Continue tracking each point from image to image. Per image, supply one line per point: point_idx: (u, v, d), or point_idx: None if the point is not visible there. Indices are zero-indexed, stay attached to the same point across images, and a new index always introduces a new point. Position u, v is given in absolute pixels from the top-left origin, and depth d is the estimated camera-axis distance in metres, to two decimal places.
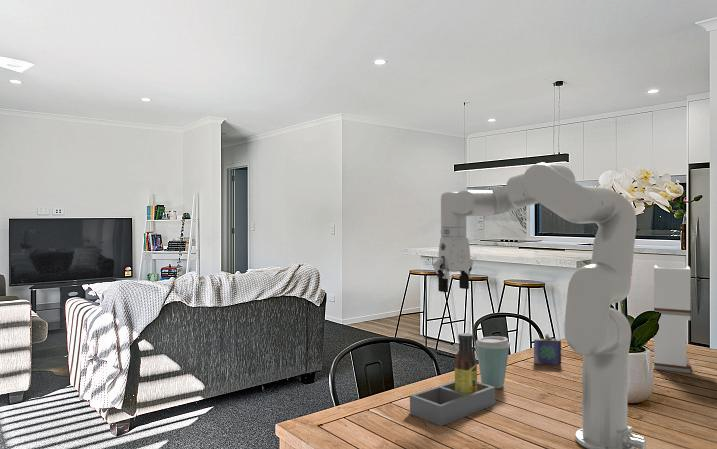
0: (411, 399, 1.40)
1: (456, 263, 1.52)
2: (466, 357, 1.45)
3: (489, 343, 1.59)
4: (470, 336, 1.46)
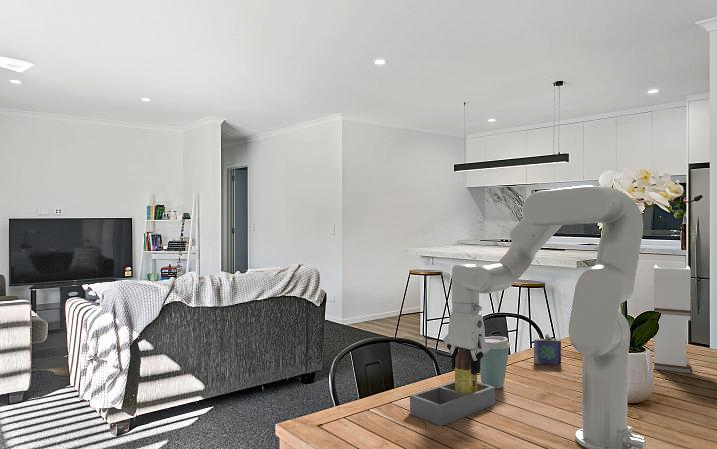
0: (411, 399, 1.40)
1: None
2: (466, 357, 1.45)
3: (489, 343, 1.59)
4: None
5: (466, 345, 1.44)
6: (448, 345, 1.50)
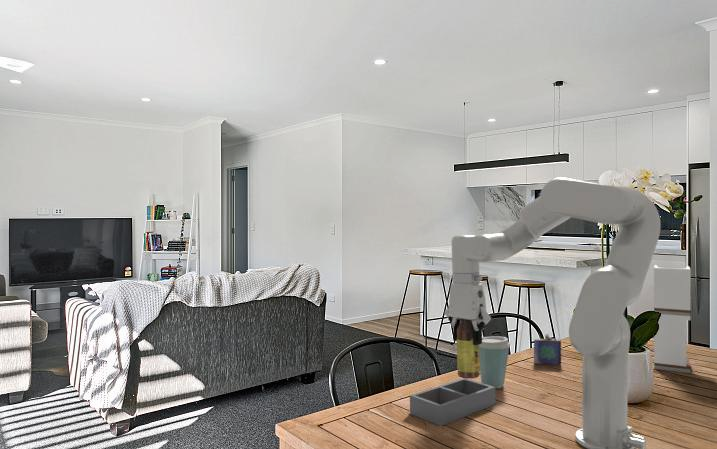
0: (411, 399, 1.40)
1: None
2: (467, 328, 1.44)
3: (489, 343, 1.59)
4: None
5: (467, 316, 1.43)
6: (449, 318, 1.50)
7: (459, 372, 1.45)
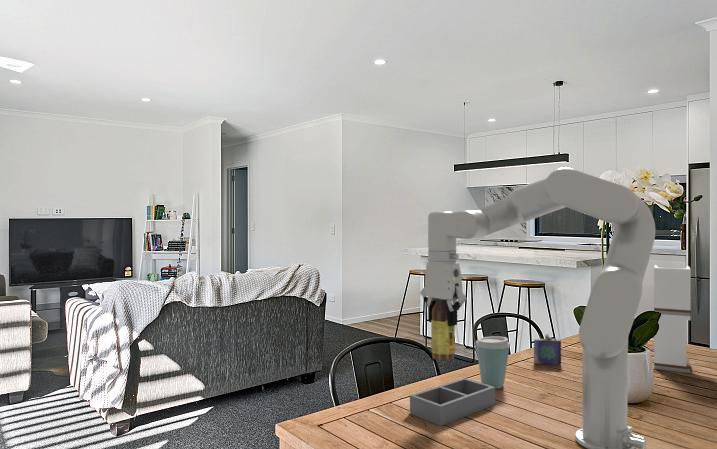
0: (411, 399, 1.40)
1: None
2: (442, 308, 1.38)
3: (489, 343, 1.59)
4: None
5: (442, 295, 1.37)
6: (425, 298, 1.44)
7: (433, 354, 1.39)
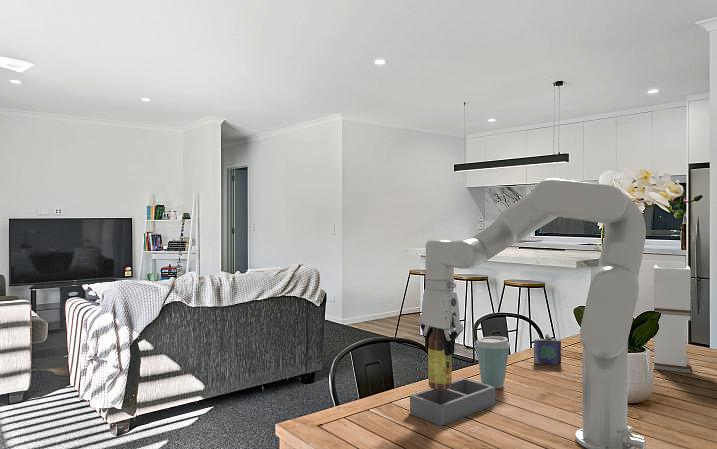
0: (411, 399, 1.40)
1: None
2: (439, 337, 1.37)
3: (489, 343, 1.59)
4: None
5: (439, 324, 1.37)
6: (422, 325, 1.43)
7: (430, 383, 1.39)
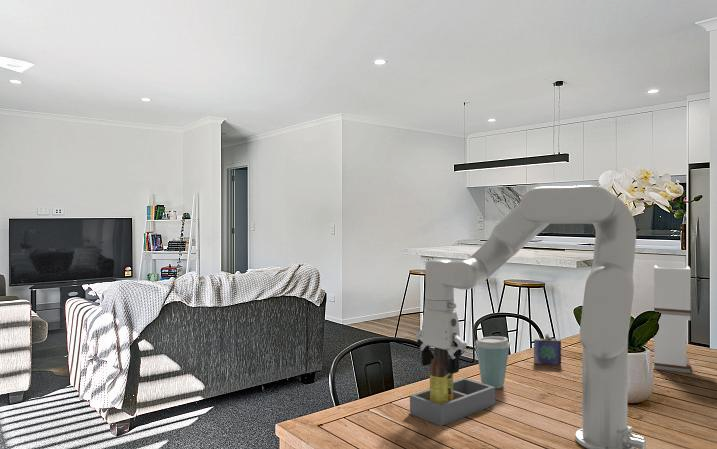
0: (411, 399, 1.40)
1: None
2: (441, 363, 1.37)
3: (489, 343, 1.59)
4: None
5: (440, 345, 1.37)
6: (418, 341, 1.44)
7: None
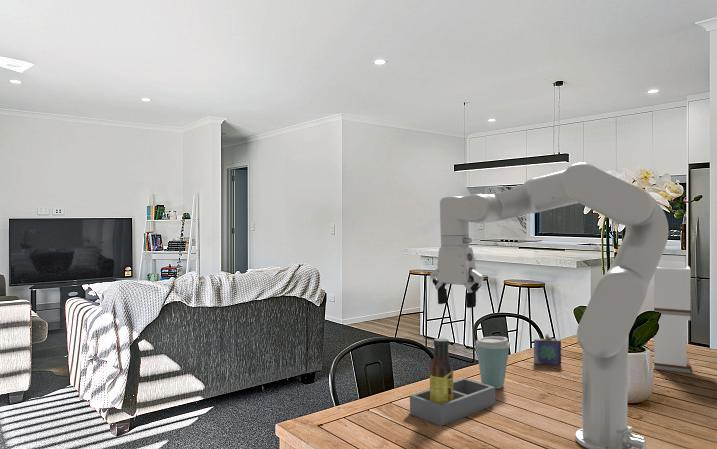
0: (411, 399, 1.40)
1: None
2: (441, 363, 1.37)
3: (489, 343, 1.59)
4: (446, 341, 1.38)
5: (456, 280, 1.37)
6: (434, 280, 1.45)
7: None
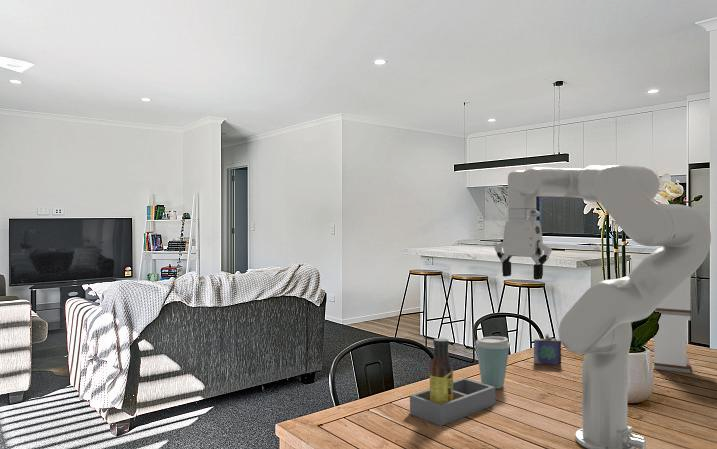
0: (411, 399, 1.40)
1: None
2: (441, 363, 1.37)
3: (489, 343, 1.59)
4: (445, 341, 1.38)
5: (524, 252, 1.40)
6: (498, 253, 1.48)
7: None
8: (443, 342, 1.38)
